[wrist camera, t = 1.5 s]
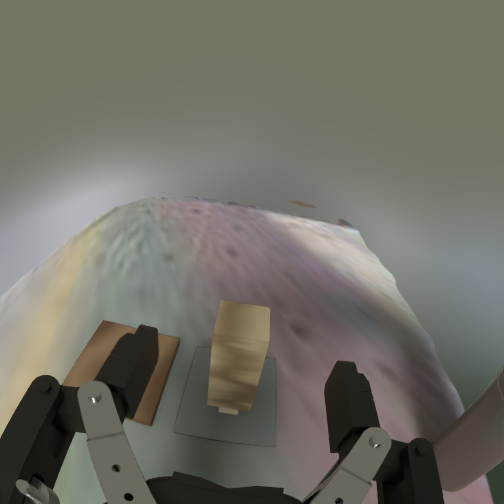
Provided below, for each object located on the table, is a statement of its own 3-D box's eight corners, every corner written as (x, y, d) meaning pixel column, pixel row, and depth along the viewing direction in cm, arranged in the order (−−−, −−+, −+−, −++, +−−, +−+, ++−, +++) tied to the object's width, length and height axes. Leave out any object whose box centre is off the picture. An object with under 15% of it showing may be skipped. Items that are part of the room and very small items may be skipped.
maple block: (252, 380, 35) (270, 307, 29) (250, 411, 30) (269, 341, 25) (213, 374, 34) (221, 299, 29) (207, 405, 30) (213, 332, 25)
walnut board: (179, 343, 38) (179, 338, 38) (151, 426, 26) (150, 422, 25) (104, 325, 38) (103, 320, 38) (61, 394, 26) (58, 389, 25)
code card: (275, 359, 39) (275, 358, 39) (274, 446, 26) (275, 446, 26) (197, 346, 39) (197, 346, 38) (173, 431, 26) (173, 431, 26)
